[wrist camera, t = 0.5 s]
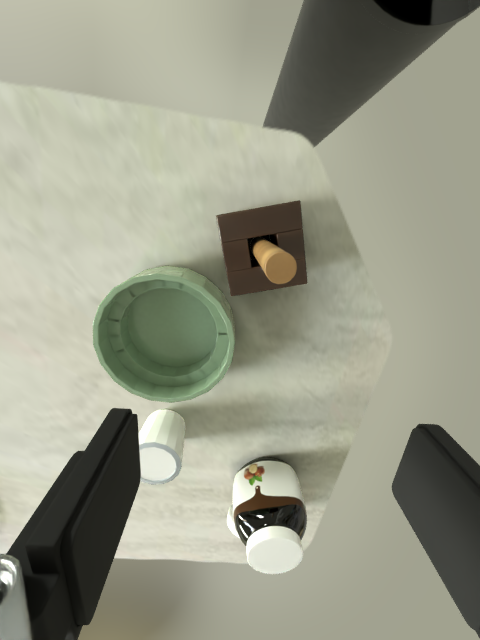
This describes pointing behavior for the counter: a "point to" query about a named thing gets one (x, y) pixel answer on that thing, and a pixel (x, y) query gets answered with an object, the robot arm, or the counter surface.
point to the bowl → (165, 334)
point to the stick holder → (268, 220)
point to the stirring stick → (273, 260)
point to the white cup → (161, 447)
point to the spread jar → (269, 514)
